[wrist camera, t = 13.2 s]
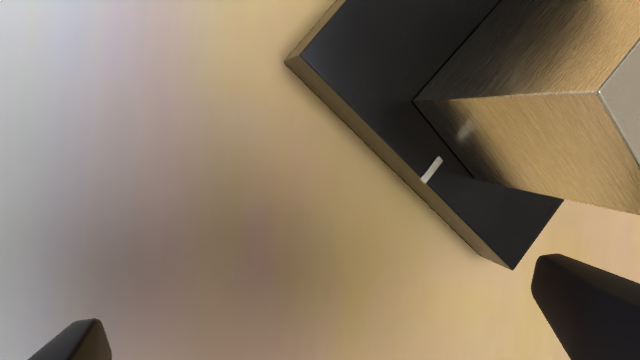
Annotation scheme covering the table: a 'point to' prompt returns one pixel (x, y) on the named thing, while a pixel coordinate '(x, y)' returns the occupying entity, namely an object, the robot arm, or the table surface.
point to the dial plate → (415, 111)
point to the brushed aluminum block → (547, 100)
